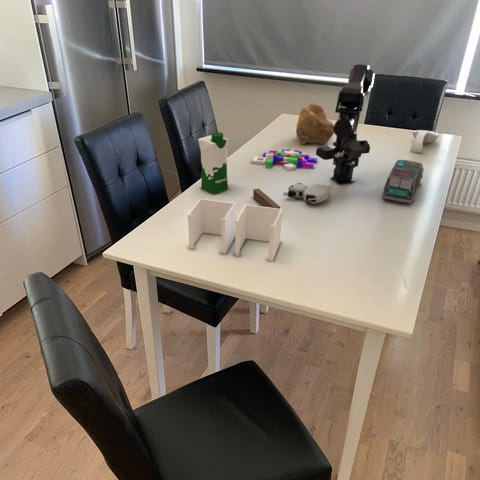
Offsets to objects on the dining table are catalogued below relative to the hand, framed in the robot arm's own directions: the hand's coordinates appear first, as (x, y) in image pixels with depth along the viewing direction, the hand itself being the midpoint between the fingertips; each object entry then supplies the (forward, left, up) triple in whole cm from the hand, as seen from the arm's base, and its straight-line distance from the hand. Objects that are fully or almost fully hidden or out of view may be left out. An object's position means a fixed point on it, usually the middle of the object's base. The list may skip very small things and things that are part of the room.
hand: (339, 174), depth 169 cm
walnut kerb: (+29, 0, -7) cm, 30 cm away
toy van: (-22, +8, -7) cm, 25 cm away
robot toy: (+13, 0, -7) cm, 15 cm away
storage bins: (+50, +20, -7) cm, 54 cm away
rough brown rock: (-22, -52, -7) cm, 57 cm away
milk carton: (+40, -21, -7) cm, 45 cm away
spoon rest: (-64, -28, -7) cm, 71 cm away
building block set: (+2, -36, -7) cm, 37 cm away
